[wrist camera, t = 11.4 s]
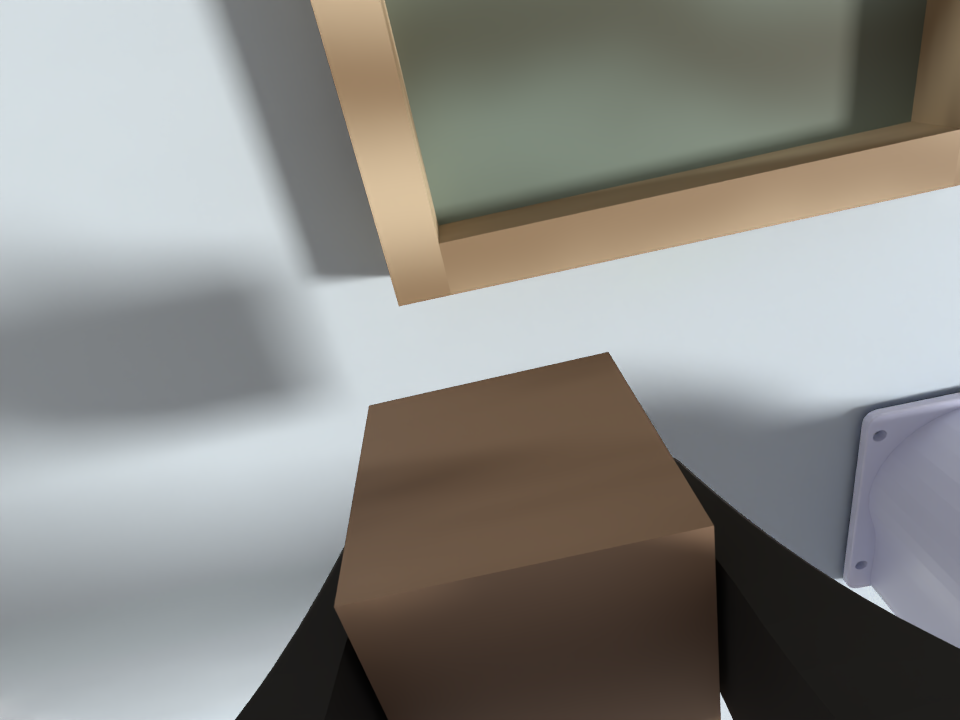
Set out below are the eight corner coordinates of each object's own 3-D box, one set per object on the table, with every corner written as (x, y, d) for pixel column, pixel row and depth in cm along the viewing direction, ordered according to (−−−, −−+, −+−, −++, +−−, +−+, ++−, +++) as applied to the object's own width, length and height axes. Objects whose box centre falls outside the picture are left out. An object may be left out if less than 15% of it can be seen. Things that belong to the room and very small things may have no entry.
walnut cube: (630, 531, 14) (721, 746, 10) (429, 575, 14) (429, 806, 10) (608, 351, 12) (714, 525, 8) (368, 405, 12) (334, 607, 8)
